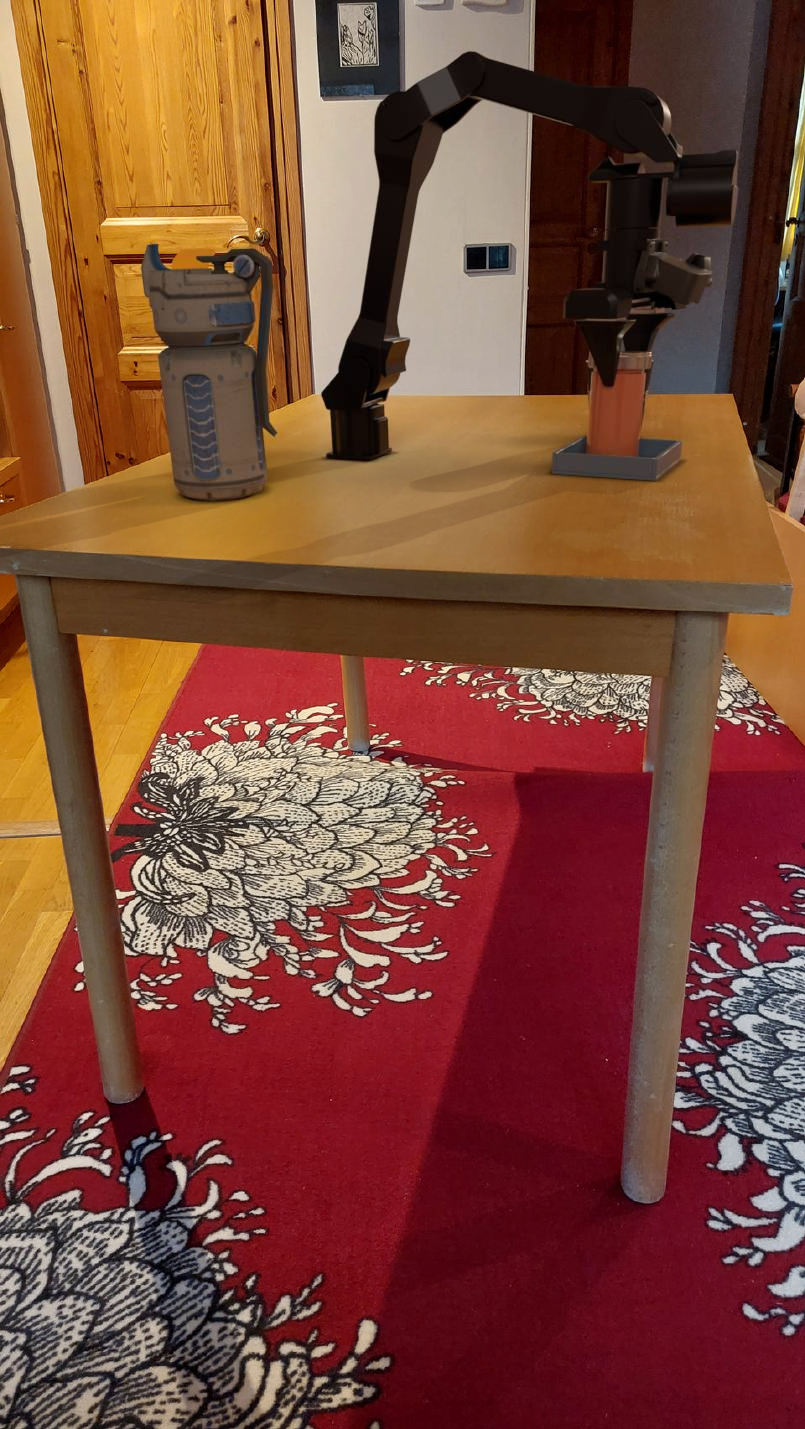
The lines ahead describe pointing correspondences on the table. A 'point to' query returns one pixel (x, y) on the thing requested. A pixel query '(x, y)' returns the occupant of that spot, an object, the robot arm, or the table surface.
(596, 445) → the jar
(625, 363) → the lid
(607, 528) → the table surface
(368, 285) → the robot arm
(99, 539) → the table surface
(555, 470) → the tray
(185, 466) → the fragmentation grenade prop
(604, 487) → the table surface
